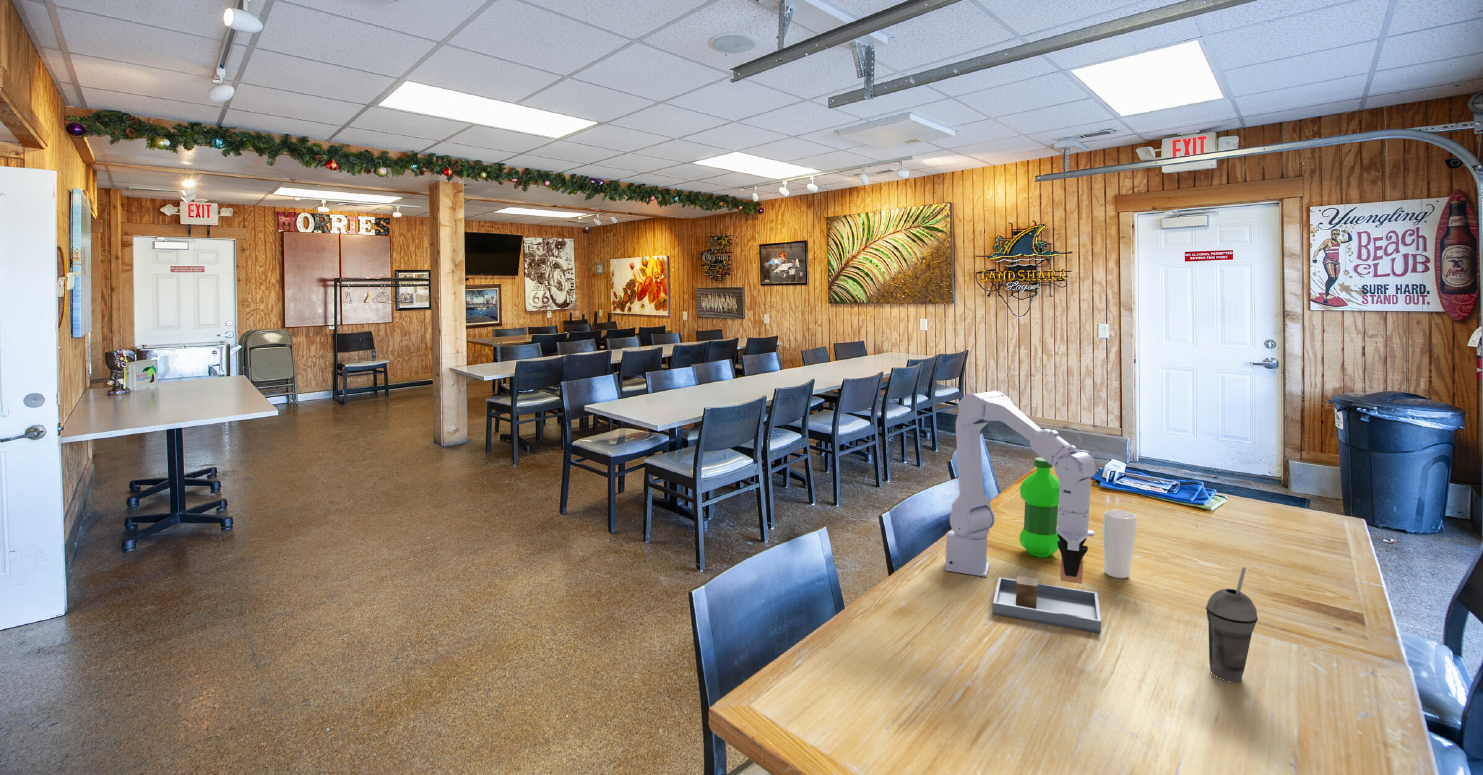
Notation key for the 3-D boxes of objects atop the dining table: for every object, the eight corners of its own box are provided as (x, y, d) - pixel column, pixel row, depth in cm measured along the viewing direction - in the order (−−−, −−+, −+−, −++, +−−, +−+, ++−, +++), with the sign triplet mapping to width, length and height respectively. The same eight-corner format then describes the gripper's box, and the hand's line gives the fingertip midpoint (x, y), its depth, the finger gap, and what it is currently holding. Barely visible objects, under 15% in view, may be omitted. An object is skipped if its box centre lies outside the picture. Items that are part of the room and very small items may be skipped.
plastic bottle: (1063, 550, 173) (1068, 457, 170) (1057, 564, 164) (1062, 466, 161) (1022, 543, 178) (1026, 452, 175) (1014, 556, 170) (1018, 461, 166)
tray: (992, 613, 139) (993, 602, 139) (998, 587, 152) (998, 577, 152) (1100, 633, 131) (1101, 621, 131) (1096, 603, 143) (1097, 592, 143)
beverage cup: (1200, 659, 121) (1209, 554, 118) (1250, 671, 117) (1260, 563, 114) (1200, 678, 115) (1209, 568, 112) (1253, 692, 111) (1264, 578, 108)
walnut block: (1015, 605, 142) (1016, 583, 141) (1016, 597, 146) (1017, 576, 145) (1036, 608, 140) (1037, 586, 140) (1036, 601, 144) (1037, 579, 143)
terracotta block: (1060, 580, 139) (1061, 557, 138) (1060, 573, 143) (1061, 551, 142) (1081, 583, 137) (1083, 560, 137) (1081, 576, 141) (1082, 554, 140)
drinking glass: (1137, 581, 154) (1141, 519, 152) (1105, 579, 155) (1109, 517, 153) (1126, 569, 160) (1130, 510, 158) (1096, 568, 162) (1100, 508, 160)
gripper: (1097, 522, 130) (1093, 588, 132) (1093, 501, 143) (1090, 561, 145) (1057, 518, 133) (1054, 582, 135) (1057, 497, 146) (1054, 556, 148)
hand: (1070, 571), depth 140 cm, fingers closed on terracotta block, 4 cm apart
